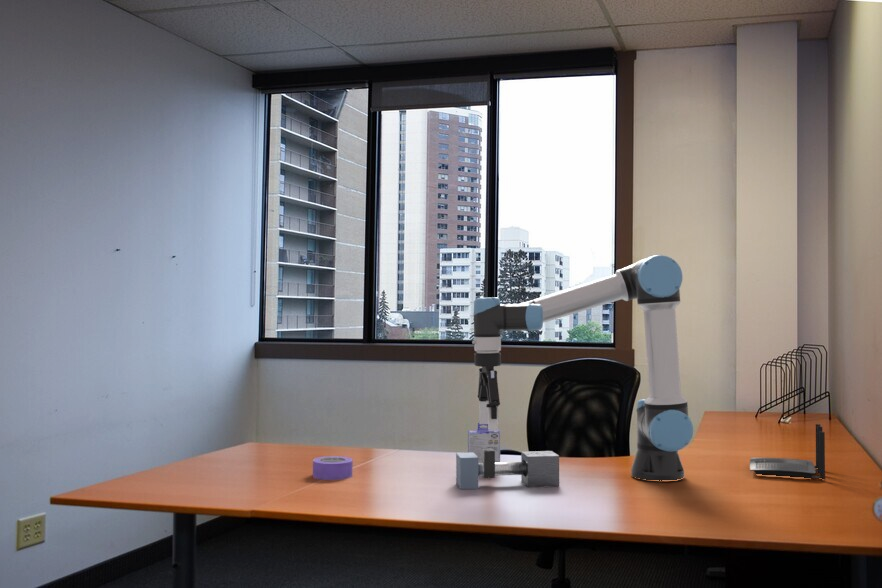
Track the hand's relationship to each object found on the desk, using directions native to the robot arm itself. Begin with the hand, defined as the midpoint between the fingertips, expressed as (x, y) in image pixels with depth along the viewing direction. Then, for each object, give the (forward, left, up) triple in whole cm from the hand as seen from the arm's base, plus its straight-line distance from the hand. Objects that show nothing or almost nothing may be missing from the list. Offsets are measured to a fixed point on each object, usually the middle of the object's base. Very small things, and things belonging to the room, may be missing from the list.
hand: (488, 427), depth 232 cm
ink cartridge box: (-2, -20, -17) cm, 26 cm away
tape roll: (+44, -19, -17) cm, 50 cm away
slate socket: (+6, 0, -16) cm, 17 cm away
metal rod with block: (-2, 0, -14) cm, 14 cm away
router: (-92, -5, -17) cm, 93 cm away
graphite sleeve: (-15, 0, -16) cm, 22 cm away
